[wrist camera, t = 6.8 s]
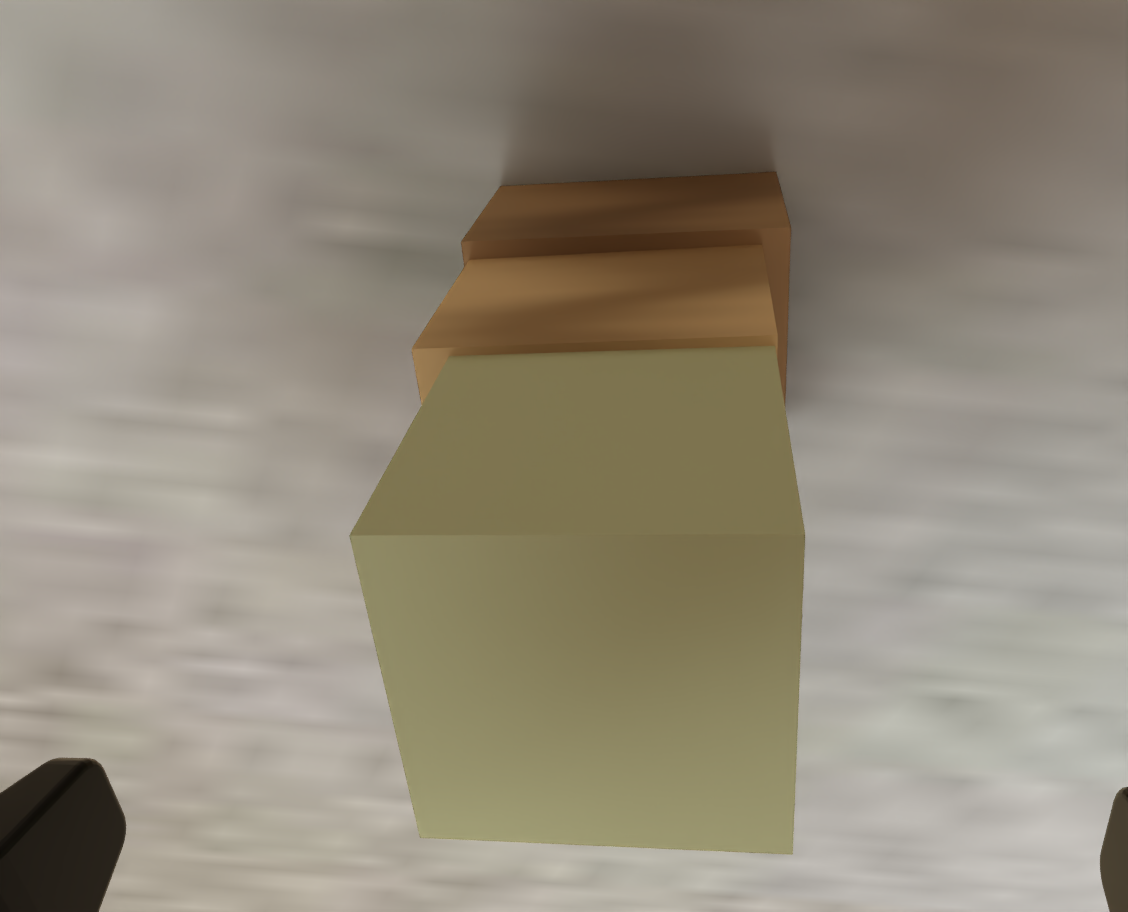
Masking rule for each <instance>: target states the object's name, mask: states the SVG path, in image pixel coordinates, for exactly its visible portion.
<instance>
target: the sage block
mask: <svg viewBox="0 0 1128 912" xmlns="http://www.w3.org/2000/svg"><path fill="white" fill-rule="evenodd" d="M349 536H350V540H351V544H352V549H353V553H354V557H355V561H356V566H357V570H358V574H359V579H360V583H361V587H362V591H363V596H364V600H365V604H366V608H367V613H368V617H369V621H370V626H371V630H372V634H373V638H374V643H375V647H376V651H377V656H378V660H379V664H380V668H381V673H382V677H383V681H384V685H385V690H386V694H387V698H388V703H389V707H390V711H391V715H392V720H393V724H394V728H395V733H396V737H397V741H398V745H399V750H400V754H401V758H402V762H403V767H404V771H405V775H406V780H407V784H408V788H409V792H410V797H411V801H412V805H413V810H414V814H415V818H416V822H417V827H418V831H419V835H420V838H437V839H459V840H482V841H504V842H526V843H548V844H571V845H593V846H615V847H638V848H660V849H682V850H704V851H727V852H749V853H771V854H793V831H794V806H795V780H796V754H797V729H798V703H799V678H800V652H801V627H802V601H803V575H804V550H805V530H804V524H803V518H802V511H801V505H800V499H799V493H798V486H797V480H796V474H795V468H794V461H793V455H792V449H791V442H790V436H789V430H788V424H787V417H786V411H785V405H784V399H783V392H782V386H781V380H780V374H779V367H778V361H777V355H776V348H775V346H747V347H716V348H685V349H653V350H622V351H591V352H559V353H528V354H497V355H465V356H449V357H448V359H447V361H446V363H445V365H444V366H443V368H442V370H441V372H440V374H439V375H438V377H437V379H436V381H435V383H434V384H433V386H432V388H431V390H430V392H429V393H428V395H427V397H426V399H425V401H424V402H423V404H422V406H421V408H420V410H419V411H418V413H417V415H416V417H415V419H414V420H413V422H412V424H411V426H410V428H409V429H408V431H407V433H406V435H405V437H404V438H403V440H402V442H401V444H400V446H399V447H398V449H397V451H396V453H395V455H394V456H393V458H392V460H391V462H390V464H389V465H388V467H387V469H386V471H385V473H384V474H383V476H382V478H381V480H380V482H379V483H378V485H377V487H376V489H375V491H374V492H373V494H372V496H371V498H370V500H369V501H368V503H367V505H366V507H365V508H364V510H363V512H362V514H361V516H360V517H359V519H358V521H357V523H356V525H355V526H354V528H353V530H352V532H351V534H350V535H349Z"/></svg>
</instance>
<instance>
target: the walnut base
mask: <svg viewBox="0 0 1128 912" xmlns="http://www.w3.org/2000/svg"><path fill="white" fill-rule="evenodd" d="M790 240H791V226H790V222H789V218H788V215H787V211H786V207H785V203H784V200H783V196H782V192H781V188H780V184H779V181H778V177H777V173H776V172H761V173H742V174H723V175H704V176H685V177H666V178H647V179H628V180H609V181H589V182H570V183H551V184H532V185H513V186H500V187H499V189H498V190H497V192H496V193H495V194H494V196H493V197H492V199H491V200H490V201H489V203H488V204H487V206H486V207H485V209H484V210H483V211H482V213H481V214H480V216H479V217H478V218H477V220H476V221H475V223H474V224H473V226H472V227H471V228H470V230H469V231H468V233H467V234H466V235H465V237H464V238H463V240H462V241H461V245H462V253H463V260H464V267H465V265H466V264H467V262H468V261H469V260H476V259H495V258H514V257H533V256H552V255H571V254H591V253H610V252H629V251H648V250H667V249H686V248H705V247H724V246H743V245H762V246H763V251H764V257H765V263H766V269H767V275H768V281H769V287H770V293H771V299H772V304H773V310H774V316H775V322H776V328H777V334H778V348H777V361H778V367H779V374H780V380H781V386H782V392H783V399H784V405H785V395H786V364H787V333H788V302H789V271H790Z"/></svg>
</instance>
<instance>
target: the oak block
mask: <svg viewBox="0 0 1128 912" xmlns="http://www.w3.org/2000/svg"><path fill="white" fill-rule="evenodd" d="M747 346H775V348H776V355H777V348H778V334H777V328H776V322H775V316H774V310H773V304H772V299H771V293H770V287H769V281H768V275H767V269H766V263H765V257H764V251H763V246H762V245H743V246H724V247H705V248H686V249H667V250H648V251H629V252H610V253H591V254H571V255H552V256H533V257H514V258H495V259H476V260H469V261H468V262H467V264H466V265H465V267H464V269H463V270H462V272H461V273H460V275H459V276H458V278H457V279H456V281H455V282H454V284H453V286H452V287H451V289H450V290H449V292H448V293H447V295H446V296H445V298H444V300H443V301H442V303H441V304H440V306H439V307H438V309H437V310H436V312H435V313H434V315H433V317H432V318H431V320H430V321H429V323H428V324H427V326H426V327H425V329H424V330H423V332H422V334H421V335H420V337H419V338H418V340H417V341H416V343H415V344H414V346H413V347H412V355H413V360H414V366H415V371H416V377H417V382H418V388H419V393H420V398H421V404H423V402H424V401H425V399H426V397H427V395H428V393H429V392H430V390H431V388H432V386H433V384H434V383H435V381H436V379H437V377H438V375H439V374H440V372H441V370H442V368H443V366H444V365H445V363H446V361H447V359H448V357H449V356H465V355H497V354H528V353H559V352H591V351H622V350H653V349H685V348H716V347H747Z"/></svg>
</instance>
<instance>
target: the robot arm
mask: <svg viewBox="0 0 1128 912" xmlns="http://www.w3.org/2000/svg"><path fill="white" fill-rule="evenodd" d="M125 835H126V821H125V816H124V813H123V811H122V808H121V806H120V804H119V802H118V799H117V797H116V795H115V793H114V791H113V788H112V786H111V784H110V782H109V779H108V777H107V775H106V773H105V770H104V768H103V767H102V765H101V764H100V763H98V762H97V761H96V760H94V759H90V758H56V759H52V760H50V761H48V762H46V763H44V764H43V765H41V766H40V767H38V768H37V769H35V770H34V771H32V772H31V773H29V774H28V775H26V776H25V777H23V778H22V779H20V780H19V781H17V782H16V783H14V784H13V785H12V786H10V787H9V788H7V789H6V790H4V791H3V792H1V793H0V912H99V909H100V907H101V904H102V901H103V899H104V896H105V893H106V891H107V888H108V885H109V882H110V880H111V877H112V874H113V872H114V869H115V866H116V863H117V861H118V858H119V855H120V853H121V850H122V847H123V844H124V840H125ZM1100 872H1101V879H1102V884H1103V888H1104V892H1105V896H1106V900H1107V903H1108V907H1109V911H1110V912H1128V787H1125V788H1122V789H1121V790H1119V792H1118V793H1117V794H1116V796H1115V799H1114V802H1113V806H1112V810H1111V814H1110V818H1109V822H1108V826H1107V830H1106V834H1105V838H1104V841H1103V845H1102V849H1101V855H1100Z"/></svg>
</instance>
